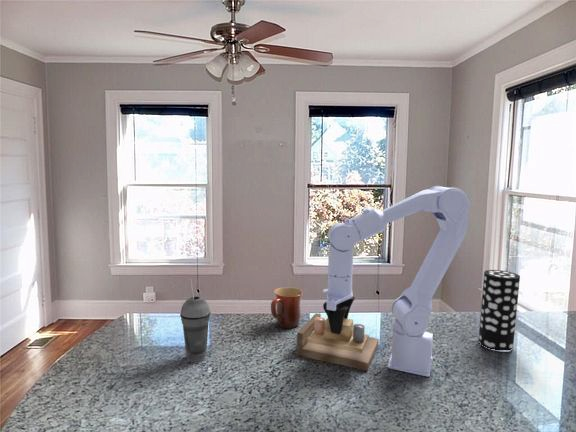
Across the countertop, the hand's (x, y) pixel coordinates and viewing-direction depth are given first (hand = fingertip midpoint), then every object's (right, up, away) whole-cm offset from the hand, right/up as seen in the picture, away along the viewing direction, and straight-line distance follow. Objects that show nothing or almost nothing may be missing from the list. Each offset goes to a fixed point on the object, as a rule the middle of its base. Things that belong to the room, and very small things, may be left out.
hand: (338, 329), depth 91 cm
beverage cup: (-35, -8, +3) cm, 36 cm away
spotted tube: (+44, -8, +12) cm, 47 cm away
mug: (-13, -6, +23) cm, 27 cm away
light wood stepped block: (+1, -8, +8) cm, 11 cm away
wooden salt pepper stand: (0, -3, 0) cm, 3 cm away
